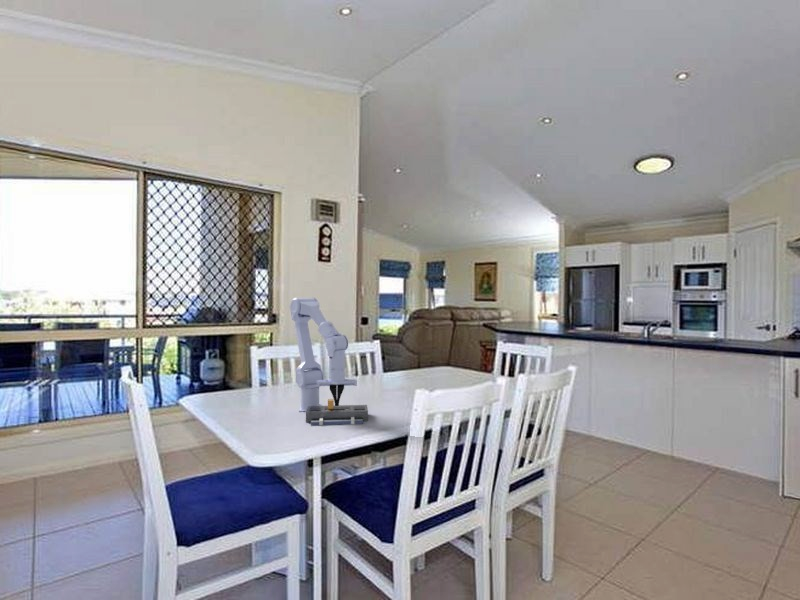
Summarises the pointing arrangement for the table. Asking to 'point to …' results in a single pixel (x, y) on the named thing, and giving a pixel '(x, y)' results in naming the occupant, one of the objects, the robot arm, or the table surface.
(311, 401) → the robot arm
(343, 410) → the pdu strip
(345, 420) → the cords
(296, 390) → the table surface
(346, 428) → the table surface
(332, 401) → the lever
